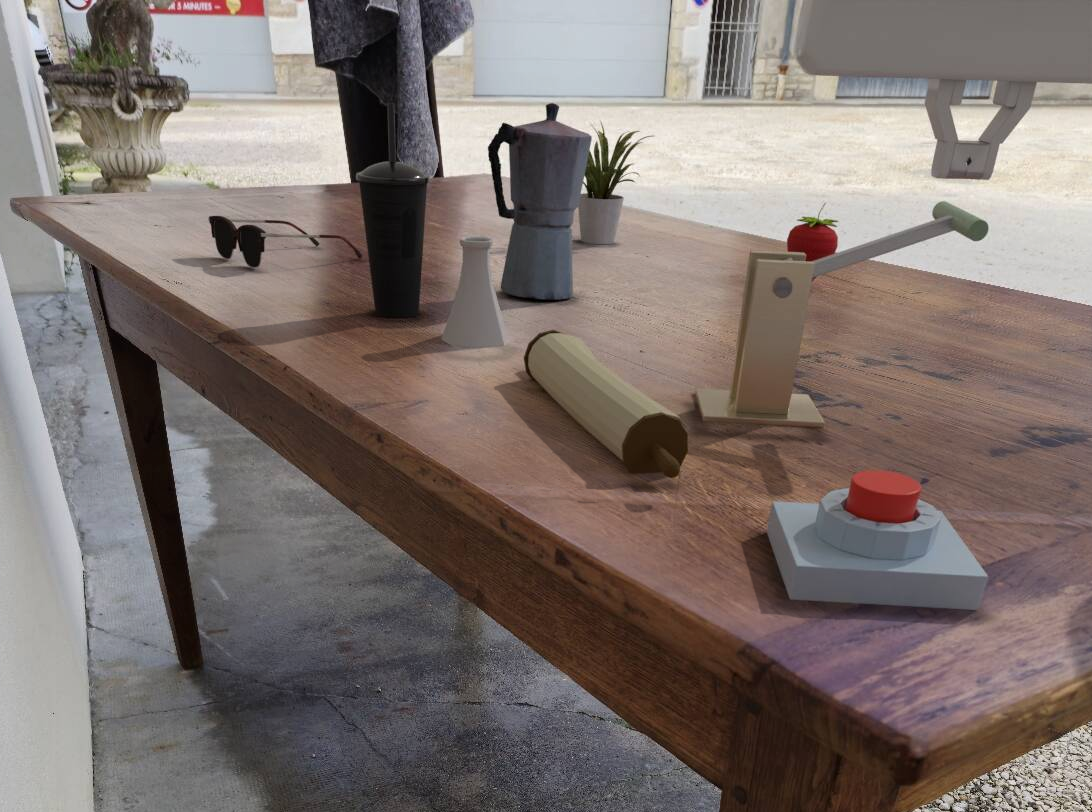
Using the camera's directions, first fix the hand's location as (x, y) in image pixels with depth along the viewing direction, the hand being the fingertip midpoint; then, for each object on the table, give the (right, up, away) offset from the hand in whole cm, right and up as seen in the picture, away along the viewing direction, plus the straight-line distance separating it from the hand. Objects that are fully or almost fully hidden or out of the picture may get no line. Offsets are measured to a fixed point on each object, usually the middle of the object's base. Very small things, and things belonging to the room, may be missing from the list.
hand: (959, 178), depth 58 cm
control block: (-3, -21, +7) cm, 22 cm away
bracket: (-5, -3, +31) cm, 32 cm away
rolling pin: (-19, -6, +27) cm, 34 cm away
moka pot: (-23, +23, +69) cm, 76 cm away
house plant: (-12, +47, +103) cm, 114 cm away
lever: (+2, +6, +24) cm, 25 cm away
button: (-3, -18, +5) cm, 19 cm away
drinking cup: (-39, +17, +58) cm, 72 cm away
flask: (-30, +9, +47) cm, 57 cm away
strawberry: (+12, +29, +80) cm, 86 cm away
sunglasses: (-57, +34, +82) cm, 106 cm away
